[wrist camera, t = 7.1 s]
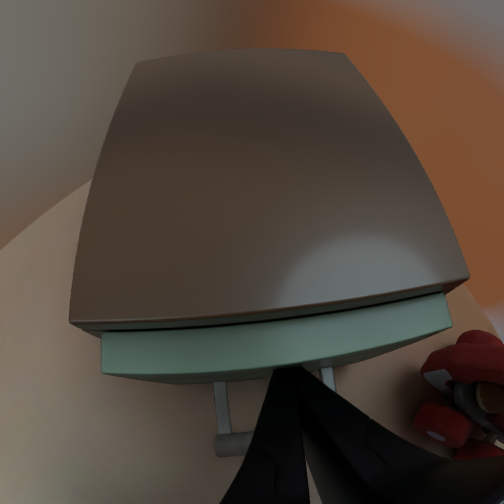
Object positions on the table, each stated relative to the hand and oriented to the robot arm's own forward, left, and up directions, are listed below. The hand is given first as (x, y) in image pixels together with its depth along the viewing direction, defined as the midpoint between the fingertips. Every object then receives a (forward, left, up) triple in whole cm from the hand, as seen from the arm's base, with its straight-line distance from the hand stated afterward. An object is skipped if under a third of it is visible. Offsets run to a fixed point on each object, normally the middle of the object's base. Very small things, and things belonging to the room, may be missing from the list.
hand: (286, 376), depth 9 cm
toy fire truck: (+2, -14, -8) cm, 16 cm away
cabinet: (+7, +4, -8) cm, 11 cm away
